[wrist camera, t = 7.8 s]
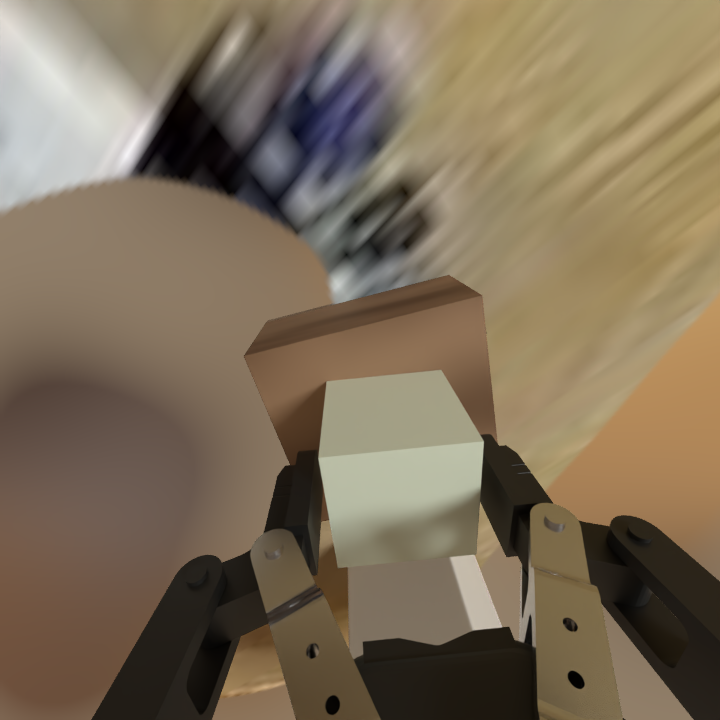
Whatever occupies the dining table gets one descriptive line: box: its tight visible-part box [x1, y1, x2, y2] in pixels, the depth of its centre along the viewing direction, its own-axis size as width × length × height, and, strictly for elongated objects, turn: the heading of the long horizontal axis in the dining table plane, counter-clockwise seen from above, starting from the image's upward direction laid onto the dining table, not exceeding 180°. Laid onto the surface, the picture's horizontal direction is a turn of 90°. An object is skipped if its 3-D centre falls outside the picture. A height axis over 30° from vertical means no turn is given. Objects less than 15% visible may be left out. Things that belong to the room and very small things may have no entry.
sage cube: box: [318, 370, 484, 568], centre depth 14 cm, size 5×5×5 cm
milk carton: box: [348, 555, 502, 659], centre depth 17 cm, size 7×7×19 cm
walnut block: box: [244, 275, 498, 522], centre depth 18 cm, size 10×10×5 cm
